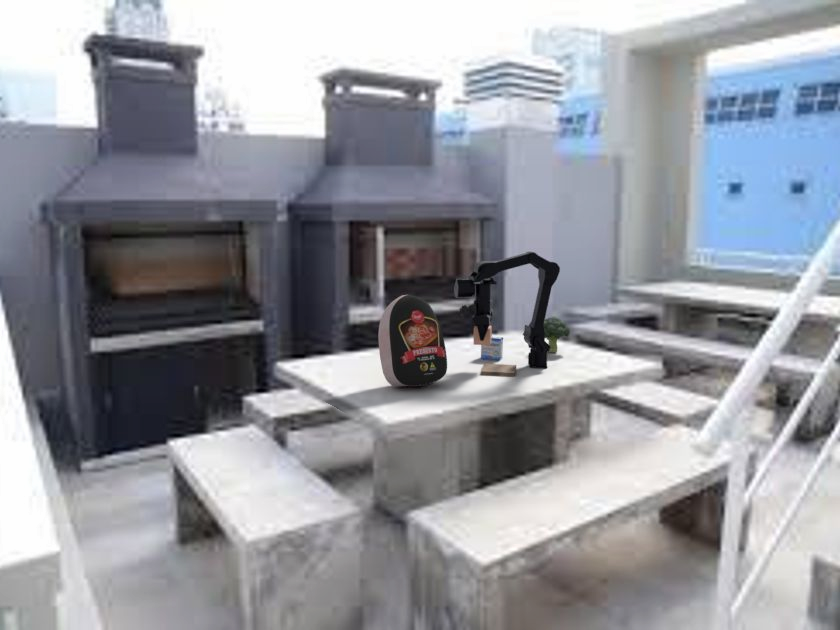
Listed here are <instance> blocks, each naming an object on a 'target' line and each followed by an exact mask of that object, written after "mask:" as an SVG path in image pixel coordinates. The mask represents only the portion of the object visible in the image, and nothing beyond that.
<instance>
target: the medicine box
mask: <svg viewBox="0 0 840 630" xmlns="http://www.w3.org/2000/svg"><path fill="white" fill-rule="evenodd" d="M503 344H504V337H503V336H491V344H490V345H480V359H481V360H488V361H489V360H491V361H501V360H502V359H503V352H504V351H503V348H504V345H503Z"/></svg>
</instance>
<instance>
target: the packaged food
mask: <svg viewBox="0 0 840 630" xmlns="http://www.w3.org/2000/svg"><path fill="white" fill-rule="evenodd" d="M445 344H446V343H445V340H444V335H443V333H442V329H441V325H440V322H439V320H438V318H437V316H436V314H435V312H434V309H433V308H432V307H431V305H430V303H428V302H427V301H426V300H424V299H422V298H421V297H418V296H416V295H411V294H405V295H403V294H402V295H400V296H398V297H397V298H395V299H394V300H392V301H391V302H390V303H389V304H388V305H387V307H386V308H385V310H384V311H383V313H382V315H381V318H380V321H379V326H378V349H379V350H378V351H379V358H380V365H381V369H382V373H383V375H384V378H385V380H386V381H387V383H388V384H389V385H391V386H393V387H417V386H428V385H430V384H434V383H436V382H438V381H439V380H441V379H442V378H444V377H445V376H446V374H447V371H448V359H447V358H448V357H447V349H446V345H445Z"/></svg>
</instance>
